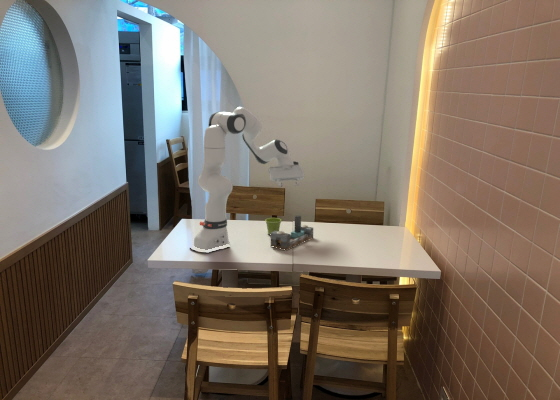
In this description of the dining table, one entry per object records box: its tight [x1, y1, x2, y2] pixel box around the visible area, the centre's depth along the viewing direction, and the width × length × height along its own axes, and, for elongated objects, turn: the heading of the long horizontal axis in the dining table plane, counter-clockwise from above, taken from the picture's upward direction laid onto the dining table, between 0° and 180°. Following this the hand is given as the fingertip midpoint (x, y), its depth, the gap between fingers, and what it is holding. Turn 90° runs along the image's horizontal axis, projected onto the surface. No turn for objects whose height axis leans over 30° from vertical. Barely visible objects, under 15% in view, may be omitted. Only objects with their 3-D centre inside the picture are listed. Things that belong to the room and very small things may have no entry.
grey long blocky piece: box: [270, 224, 314, 251], centre depth 253 cm, size 27×10×9 cm, turn 144°
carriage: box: [290, 214, 304, 238], centre depth 256 cm, size 6×5×12 cm
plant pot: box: [265, 217, 282, 235], centre depth 266 cm, size 9×9×9 cm
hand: (289, 185), depth 265 cm, fingers open, 8 cm apart
